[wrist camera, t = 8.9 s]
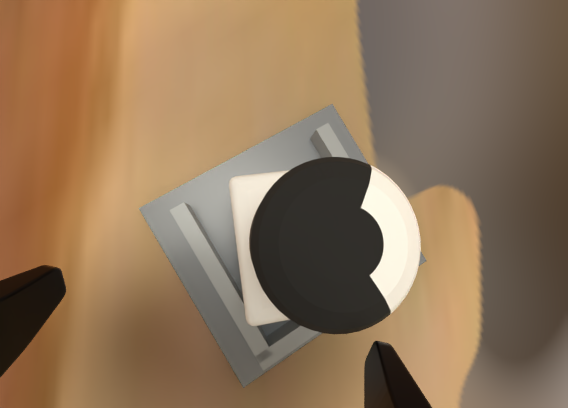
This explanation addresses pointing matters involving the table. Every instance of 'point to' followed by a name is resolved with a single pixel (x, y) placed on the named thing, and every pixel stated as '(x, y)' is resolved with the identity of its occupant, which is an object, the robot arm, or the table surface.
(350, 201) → the medicine bottle
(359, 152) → the bottle holder
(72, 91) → the table surface
